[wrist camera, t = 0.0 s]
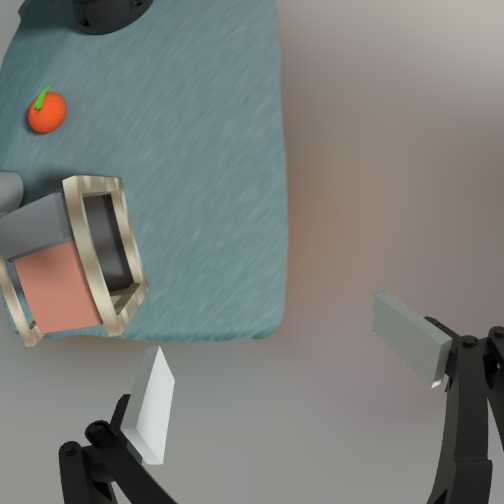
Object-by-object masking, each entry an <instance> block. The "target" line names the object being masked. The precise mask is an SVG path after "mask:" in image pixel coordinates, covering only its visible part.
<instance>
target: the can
mask: <svg viewBox="0 0 504 504" xmlns="http://www.w3.org/2000/svg"><path fill="white" fill-rule="evenodd" d="M23 190H24V189H23V182H22V179H21V177H20V176H19V174H18V173H16V172H14V171H0V213H5V212H10V211H15V210H17V209H18V208H19V206H20V204H21V202H22V198H23Z"/></svg>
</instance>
